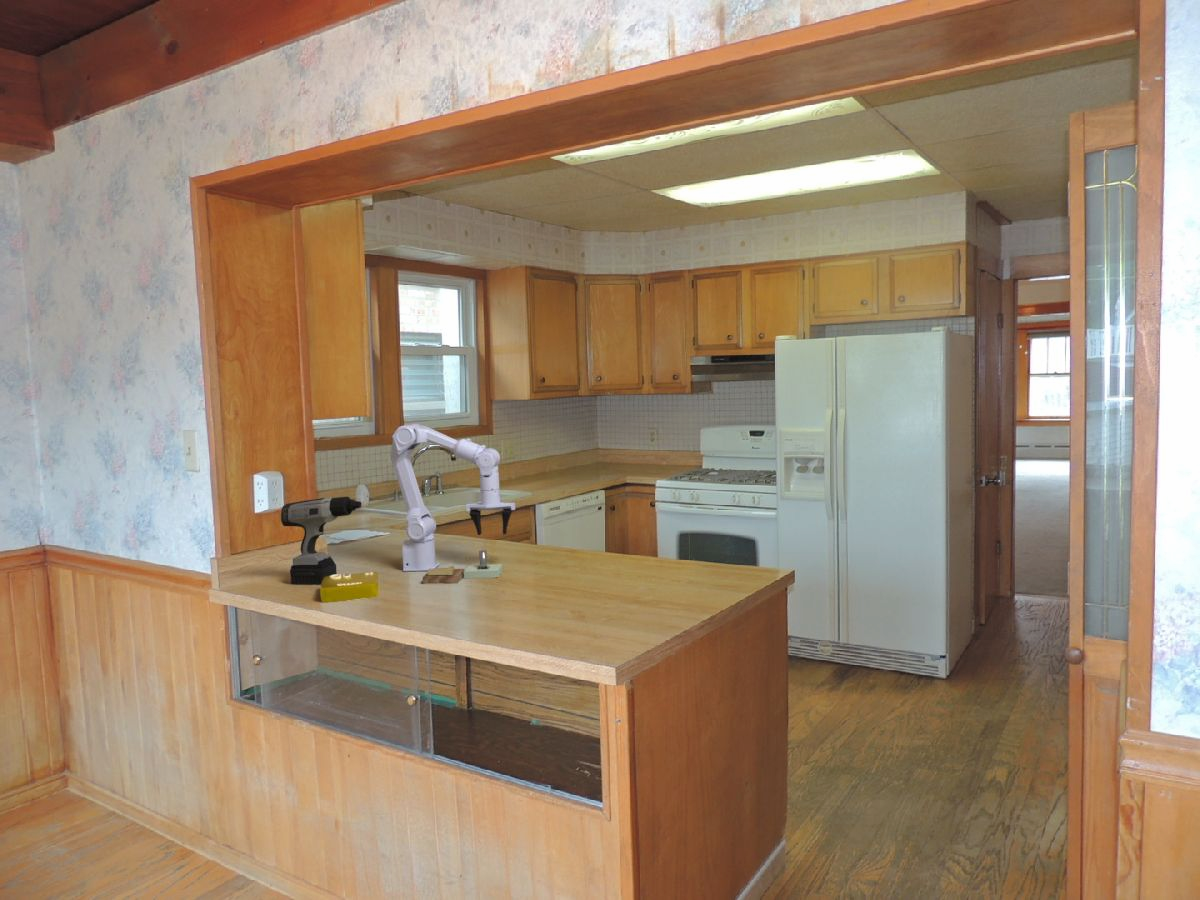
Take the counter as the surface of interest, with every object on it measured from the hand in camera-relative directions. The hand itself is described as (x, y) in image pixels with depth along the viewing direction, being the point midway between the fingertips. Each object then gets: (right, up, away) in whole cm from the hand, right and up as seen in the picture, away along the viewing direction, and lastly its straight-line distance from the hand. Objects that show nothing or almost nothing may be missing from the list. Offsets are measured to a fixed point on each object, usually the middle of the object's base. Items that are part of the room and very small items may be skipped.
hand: (492, 534), depth 258 cm
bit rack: (-2, -11, -7) cm, 13 cm away
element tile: (-36, -15, -23) cm, 45 cm away
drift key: (-13, -10, -14) cm, 22 cm away
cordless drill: (-47, -13, -8) cm, 50 cm away
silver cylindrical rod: (-2, -11, -7) cm, 13 cm away
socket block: (-12, -12, -11) cm, 21 cm away
